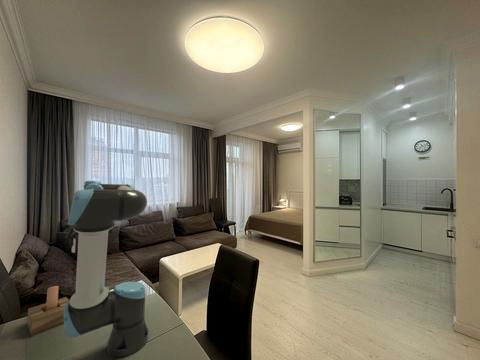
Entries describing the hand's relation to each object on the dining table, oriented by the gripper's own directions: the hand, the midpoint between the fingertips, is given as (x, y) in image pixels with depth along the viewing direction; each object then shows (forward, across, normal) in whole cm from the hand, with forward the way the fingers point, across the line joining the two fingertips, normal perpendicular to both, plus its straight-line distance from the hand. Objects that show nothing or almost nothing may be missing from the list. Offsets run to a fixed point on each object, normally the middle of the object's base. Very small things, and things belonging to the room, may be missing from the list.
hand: (89, 249), depth 105 cm
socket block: (+33, +13, -5) cm, 36 cm away
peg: (+32, +13, -5) cm, 35 cm away
